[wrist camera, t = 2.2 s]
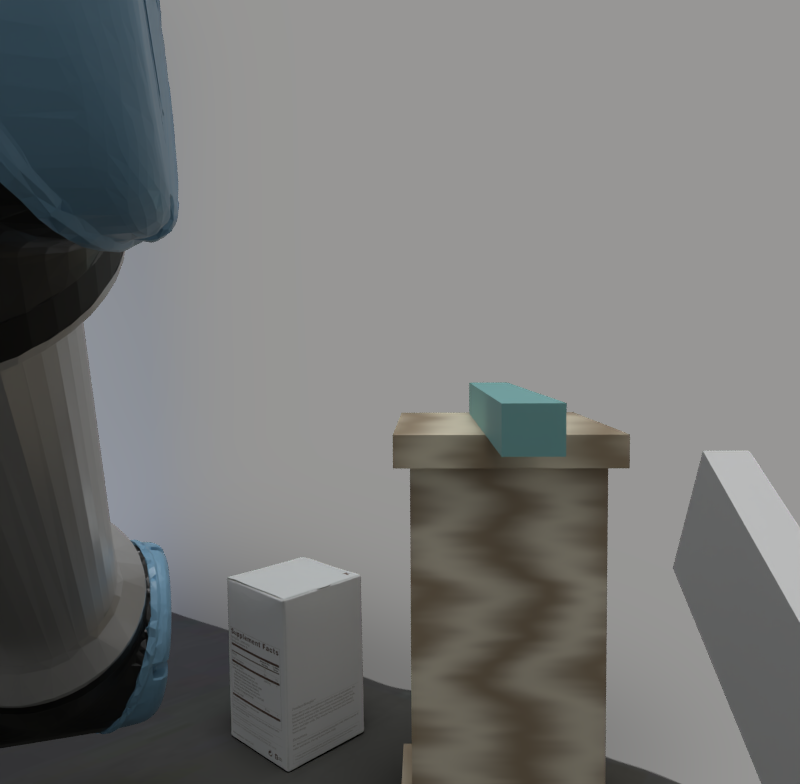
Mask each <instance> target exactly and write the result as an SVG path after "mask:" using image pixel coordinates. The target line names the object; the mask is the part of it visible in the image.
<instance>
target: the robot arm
mask: <svg viewBox="0 0 800 784" xmlns="http://www.w3.org/2000/svg"><path fill="white" fill-rule="evenodd" d="M178 209H179V202H178V174H177V161H176V150H175V135H174V124H173V114H172V105H171V96H170V87H169V82H168V74H167V65H166V57H165V47H164V40H163V34H162V28H161V11H160V1H159V0H0V748H5V747H11V746H17V745H23V744H30V743H36V742H42V741H48V740H54V739H60V738H67V737H73V736H79V735H85V734H91V733H96V734H98V733H101V734H108V733H111V732H113V731H115V730H117V729H118V728H122V727H126V726H130V725H134V724H138V723H141V722H144V721H146V720H147V719H149V718H150V717H151V716H152V715H154V714H155V712H156V711H157V710H158V708H159V706H160V704H161V702H162V700H163V697H164V693H165V689H166V683H167V676H168V663H167V660H168V659H169V653H170V644H171V591H170V576H169V569H168V563H167V560H166V556H165V554H164V552H163V549H162V548H161V547H160V546H159V545H157V544H155V543H151V542H140V541H138V540H129V539H128V537H127V536H126V535H125V534H124V533H123V532H122V531H121V530H120V529H119V528H117V527H116V526H115V525H113V524H112V523H111V522H110V517H109V509H108V502H107V495H106V487H105V480H104V472H103V465H102V458H101V451H100V443H99V435H98V428H97V421H96V414H95V406H94V398H93V392H92V384H91V377H90V369H89V362H88V354H87V347H86V339H85V332H84V324H83V322H84V321H85V320H86V319H87V318H88V317H89V316H90V315H91V314H92V313H93V312H94V311H95V309H96V308H97V307H98V306H99V305H100V303H101V302H102V301H103V300H104V298H105V297H106V296H107V294H108V292H109V291H110V289H111V288H112V286H113V284H114V283H115V281H116V279H117V276H118V274H119V271H120V269H121V266H122V263H123V259H124V253H125V251H126V250H128V249H129V248H131V247H133V246H135V245H137V244H139V243H141V242H142V241H145V242H155V241H158V240H160V239H162V238H164V237H165V236H166V235H167V234H168V233H170V232H171V231H172V229H173V227H174V226H175V224H176V222H177V218H178ZM673 569H674V571H675V574H676V576H677V579H678V581H679V584H680V586H681V589H682V591H683V594H684V596H685V598H686V601H687V603H688V606H689V608H690V611H691V613H692V616H693V618H694V620H695V623H696V625H697V628H698V630H699V633H700V635H701V637H702V640H703V642H704V645H705V647H706V650H707V652H708V655H709V657H710V659H711V662H712V664H713V667H714V669H715V672H716V674H717V676H718V679H719V681H720V684H721V686H722V689H723V691H724V693H725V696H726V698H727V701H728V703H729V705H730V708H731V711H732V713H733V715H734V718H735V720H736V723H737V725H738V727H739V730H740V732H741V735H742V737H743V740H744V742H745V745H746V747H747V750H748V752H749V754H750V757H751V759H752V762H753V764H754V767H755V769H756V771H757V774H758V776H759V779H760V781H761V783H762V784H800V527H799V526H798V524H797V523H796V521H795V520H794V518H793V517H792V515H791V514H790V512H789V510H788V509H787V507H786V506H785V504H784V503H783V501H782V500H781V498H780V497H779V495H778V494H777V492H776V491H775V489H774V488H773V486H772V484H771V483H770V481H769V480H768V478H767V477H766V475H765V474H764V472H763V471H762V469H761V468H760V466H759V465H758V463H757V462H756V460H755V459H754V457H753V456H752V454H751V452H750V451H703V453H702V457H701V461H700V464H699V468H698V472H697V476H696V480H695V484H694V488H693V492H692V496H691V500H690V504H689V507H688V511H687V515H686V519H685V523H684V527H683V531H682V535H681V538H680V543H679V547H678V550H677V554H676V558H675V562H674V566H673Z"/></svg>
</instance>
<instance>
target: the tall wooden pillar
mask: <svg viewBox="0 0 800 784" xmlns="http://www.w3.org/2000/svg"><path fill="white" fill-rule="evenodd" d="M629 463H630V435H629V434H627V433H625V432H622V431H620V430H617V429H614V428H612V427H609V426H607V425H604V424H601V423H599V422H597V421H594V420H591V419H589V418H586V417H584V416H581V415H579V414H576V413H574V412H566V457H501V455H500V454H499V453H498V451H497V450H496V449H495V447H494V446H493V445H492V443H491V442H490V441H489V439H488V438H487V437H486V435H485V434H484V433H483V431H482V430H481V429H480V427H479V426H478V424H477V423H476V422H475V420H474V419H473V418H472V416H471V415H470V413H401V416H400V419H399V421H398V424H397V426H396V429H395V431H394V434H393V468H410V517H411V518H410V519H411V520H410V522H411V523H410V525H411V674H412V675H411V679H412V680H411V682H412V683H411V694H412V744H404V750H403V769H402V784H605V746H606V745H605V743H606V741H605V740H606V635H607V633H606V631H607V523H608V522H607V521H608V520H607V518H608V468H629Z"/></svg>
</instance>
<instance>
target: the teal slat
mask: <svg viewBox="0 0 800 784" xmlns="http://www.w3.org/2000/svg"><path fill="white" fill-rule="evenodd" d="M469 384H470V387H469V388H470V390H469V391H470V393H469V395H470V396H469V398H470V399H469V402H470V403H469V406H470V409H469V411H470V415H471V416H472V418H473V419H474V420H475V422H476V423H477V424H478V426H479V427H480V429H481V430H482V431H483V433H484V434H485V435H486V437H487V438H488V439H489V441H490V442H491V443H492V445H493V446H494V447H495V449H496V450H497V451H498V453H499V454H500V455H501V457H566V406H567V404H566V403H564V402H561V401H559V400H556V399H552V398H550V397H547V396H544V395H541V394H538V393H536V392H532V391H530V390H527V389H524V388H521V387H518V386H515V385H512V384H510V383H469Z"/></svg>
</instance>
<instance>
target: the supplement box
mask: <svg viewBox="0 0 800 784" xmlns="http://www.w3.org/2000/svg"><path fill="white" fill-rule="evenodd" d="M227 582H228V618H229V619H228V620H229V658H230V695H231V734H232V736H234V737H235V738H237V739H239V740H240V741H242V742H243V743H245V744H246V745H248V746H249V747H251V748H252V749H254V750H255V751H257V752H258V753H260V754H261V755H263V756H264V757H266V758H267V759H269V760H270V761H272V762H274V763H275V764H277V765H278V766H280V767H281V768H283V769H284V770H286V771H288V772H289V771H291V770H293V769H295V768H297V767H299V766H301V765H303V764H304V763H306V762H308V761H310V760H312V759H314V758H315V757H317V756H319V755H321V754H323V753H325V752H327V751H328V750H330V749H332V748H334V747H336V746H338V745H340V744H342V743H343V742H345V741H347V740H349V739H351V738H353V737H355V736H356V735H358V734H360V733H362V732H363V731H364V709H363V665H362V663H363V662H362V616H361V576H360V575H359V574H357V573H353V572H350V571H346V570H343V569H339V568H336V567H333V566H330V565H327V564H324V563H321V562H319V561H316V560H313V559H309V558H305V557H301V558H297V559H293V560H290V561H286V562H283V563H279V564H275V565H272V566H268V567H264V568H261V569H257V570H253V571H250V572H246V573H242V574H239V575H235V576H231V577H228V578H227Z"/></svg>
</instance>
